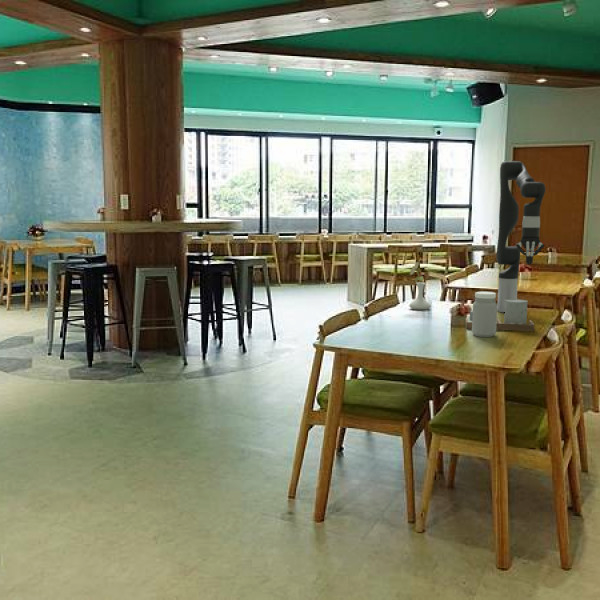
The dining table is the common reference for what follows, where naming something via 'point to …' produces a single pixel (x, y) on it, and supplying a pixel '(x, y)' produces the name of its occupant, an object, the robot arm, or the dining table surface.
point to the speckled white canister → (515, 311)
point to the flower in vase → (419, 293)
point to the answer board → (508, 326)
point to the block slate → (471, 314)
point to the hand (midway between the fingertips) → (529, 264)
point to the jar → (484, 314)
